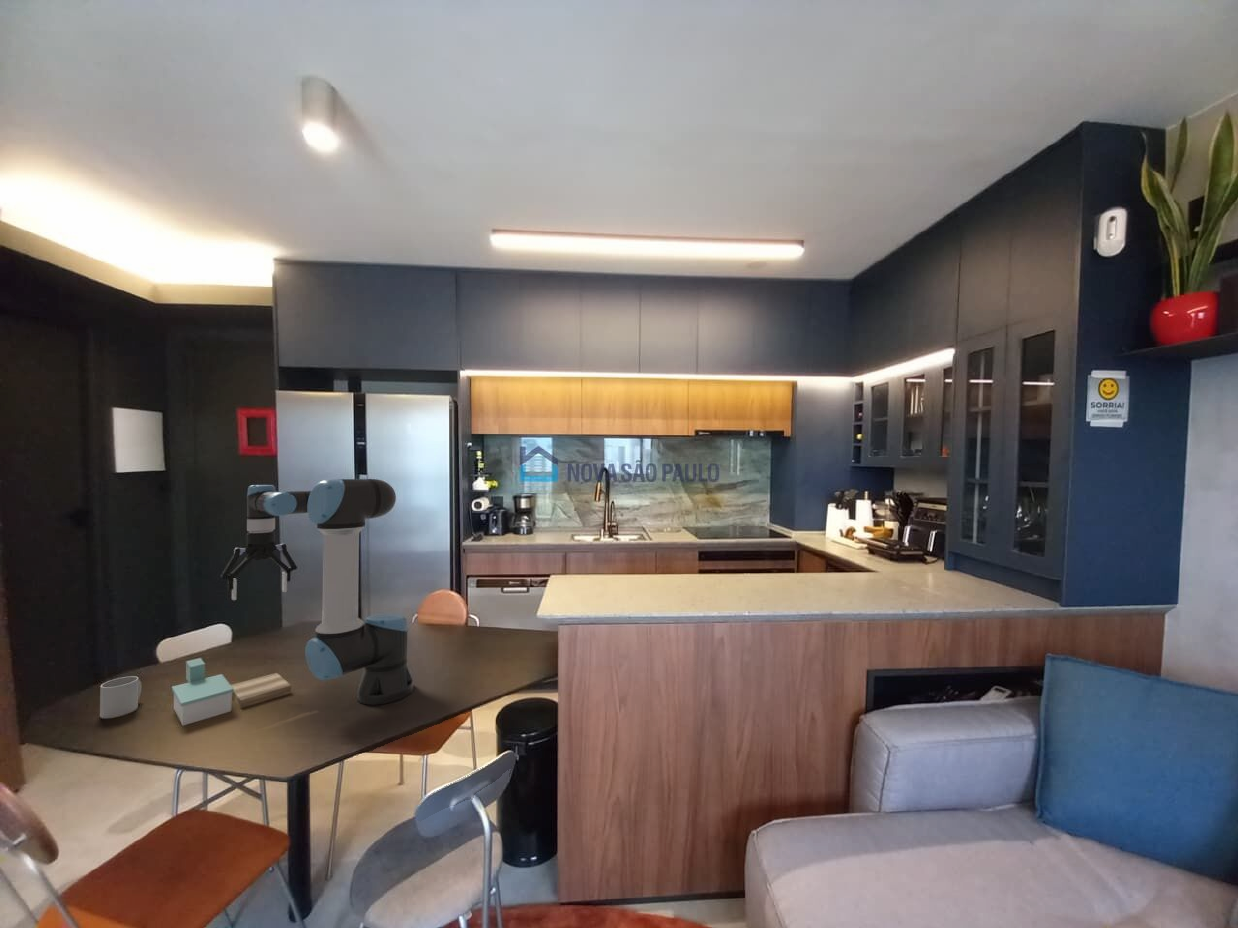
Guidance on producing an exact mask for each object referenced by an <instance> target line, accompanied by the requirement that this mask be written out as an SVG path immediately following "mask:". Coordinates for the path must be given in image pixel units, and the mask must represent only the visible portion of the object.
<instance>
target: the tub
mask: <svg viewBox="0 0 1238 928" xmlns="http://www.w3.org/2000/svg"><path fill="white" fill-rule="evenodd" d="M232 701H233V698H232V692H231V693H228V694H224V695H220V696H217V697H213V698H210V699H206V700H203V701H199V702H195V703H192V704H188V705H185V706H181V705H180V704H179V702H178V700H177V698H176V696H175V694H174V693H173V710H174V712H175V714H176V716H177V718H178V720H179V721H180V724H181V725H182V726H186V725H190V724H193V723H196V722H200V721H203V720H206V719H207V720H208V719H209V718H212V717H216V716H219V715H223V714H226V713H229V712H232Z"/></svg>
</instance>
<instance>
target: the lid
mask: <svg viewBox="0 0 1238 928" xmlns="http://www.w3.org/2000/svg"><path fill="white" fill-rule="evenodd" d="M185 679H186V681H187V682H185V683H181V684H177V685H173V686H171V691H172V693H173V695H174V694H175V696H176V698H177V700H178V702H179V704H180V705H181V706H185V705H188V704H192V703H195V702H199V701H203V700H206V699H210V698H213V697H217V696H220V695H224V694H228V693H231V692H234V688H233V687H232V686H231V685H232V684H231V683H229V681H228V680H227V679H226V678H225V676H224V674H222V673H221V674H216V675H213V676H209V677H206V663H205V662H204V660H203V658H201V657H199V658H194V659H190V660H187V661H185Z"/></svg>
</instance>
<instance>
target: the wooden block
mask: <svg viewBox="0 0 1238 928" xmlns="http://www.w3.org/2000/svg"><path fill="white" fill-rule="evenodd" d="M230 685H231V686H232V687H233V688H234V692H232V700H233V701H234V702H235V703H236V704H237V706H238V707H239V708H240V709H242V708H246V707H250V706H252V705H256V704H259V703H263V702H265V701H270V700H272V699H275V698H279V697H283V696H286V695H289V694H291V693H292V686H291V684H290V682H288V681H287V680H286V679H285V678H283V676H281V675H280V674H279V673H278V672H275V673H270V674H267V675H263V676H262V675H261V676H259V677H255V678H251V679H248V680H247V679H246V680H244V681H241V682H236V683H233V684H230Z"/></svg>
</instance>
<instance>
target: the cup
mask: <svg viewBox="0 0 1238 928" xmlns="http://www.w3.org/2000/svg"><path fill="white" fill-rule="evenodd" d="M99 693H100V694H99V701H100V702H99V718H100V719H113V718H117V717H118V718H119V717H121V716H126V715H128V714H130V713H132V712H134V711H136V710H137V709H138V708H139V698H140V695H141V693H142V682H141V680H140V679H139V677H138V676H135V675H131V676H124V677H123V676H122V677H118V678H114V679H112V680H111V679H110V680H108V681H106V682H104V683H102V684H101V685H100V692H99Z"/></svg>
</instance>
